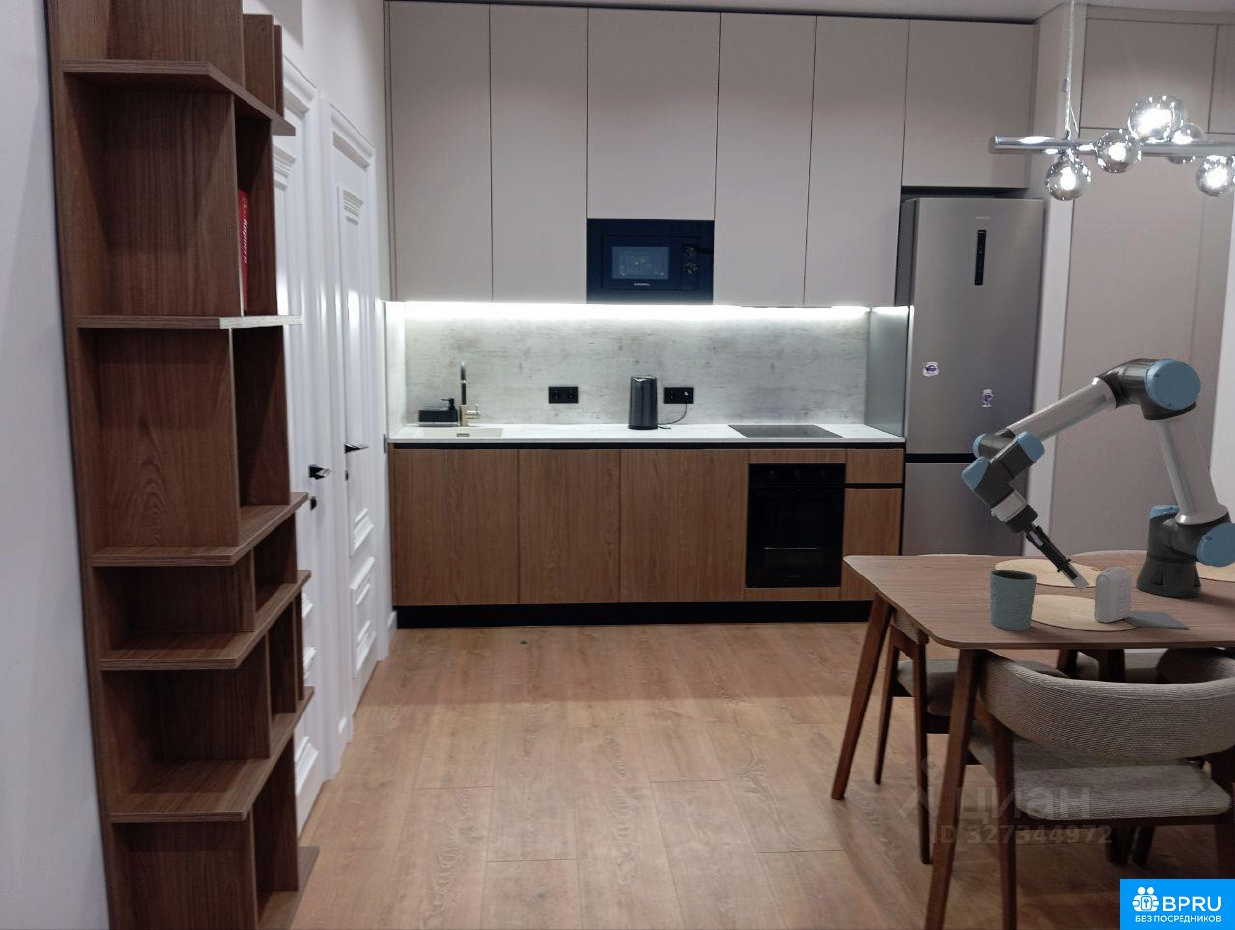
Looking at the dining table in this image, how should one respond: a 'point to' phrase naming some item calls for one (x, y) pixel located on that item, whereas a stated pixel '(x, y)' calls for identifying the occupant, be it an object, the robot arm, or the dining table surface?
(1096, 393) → the robot arm
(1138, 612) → the mat
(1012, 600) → the teal cup
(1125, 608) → the photo printer
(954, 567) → the dining table surface
